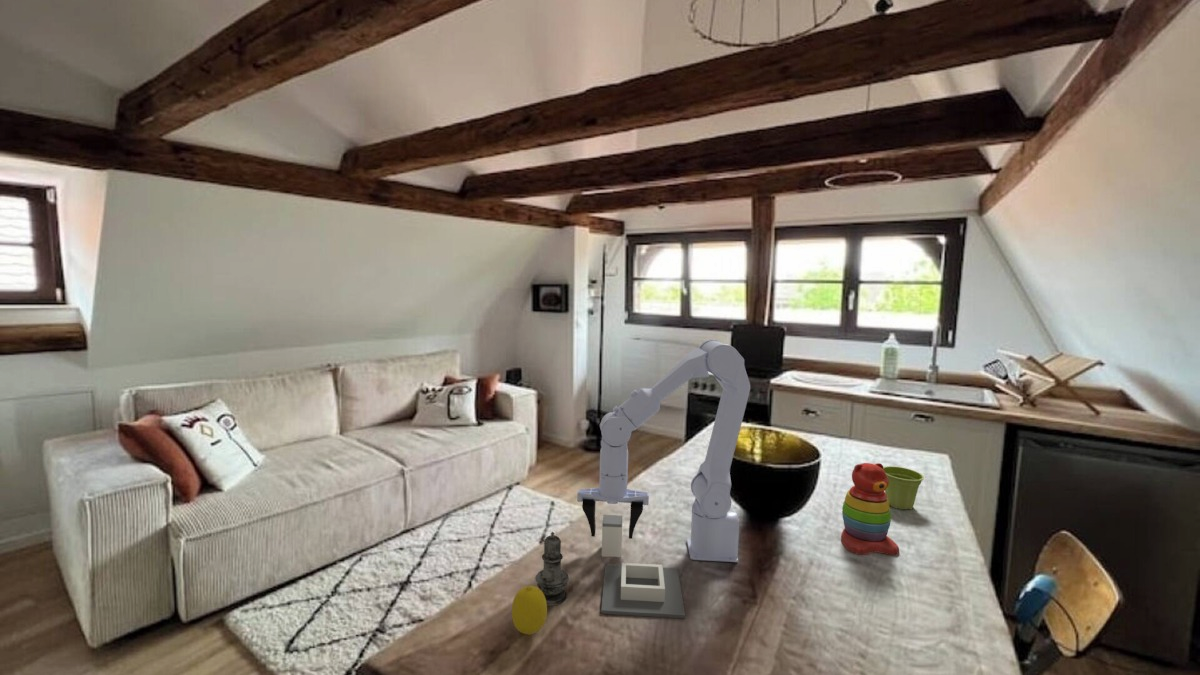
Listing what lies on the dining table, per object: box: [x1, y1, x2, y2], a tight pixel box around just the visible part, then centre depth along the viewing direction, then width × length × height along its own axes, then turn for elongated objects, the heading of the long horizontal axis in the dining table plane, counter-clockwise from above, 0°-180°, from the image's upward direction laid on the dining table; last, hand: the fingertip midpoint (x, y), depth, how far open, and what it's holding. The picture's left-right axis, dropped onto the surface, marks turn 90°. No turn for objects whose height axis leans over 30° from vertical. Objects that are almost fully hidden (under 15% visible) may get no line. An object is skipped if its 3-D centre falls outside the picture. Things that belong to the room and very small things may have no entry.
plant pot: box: [883, 465, 925, 510], centre depth 130 cm, size 9×9×9 cm
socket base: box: [600, 562, 686, 619], centre depth 91 cm, size 14×14×3 cm
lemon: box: [511, 585, 548, 636], centre depth 79 cm, size 6×6×8 cm
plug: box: [601, 514, 623, 558], centre depth 104 cm, size 4×4×7 cm
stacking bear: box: [840, 462, 900, 556], centre depth 109 cm, size 11×10×18 cm
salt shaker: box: [534, 531, 570, 606], centre depth 89 cm, size 6×6×12 cm
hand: (611, 535), depth 104 cm, fingers open, 7 cm apart
